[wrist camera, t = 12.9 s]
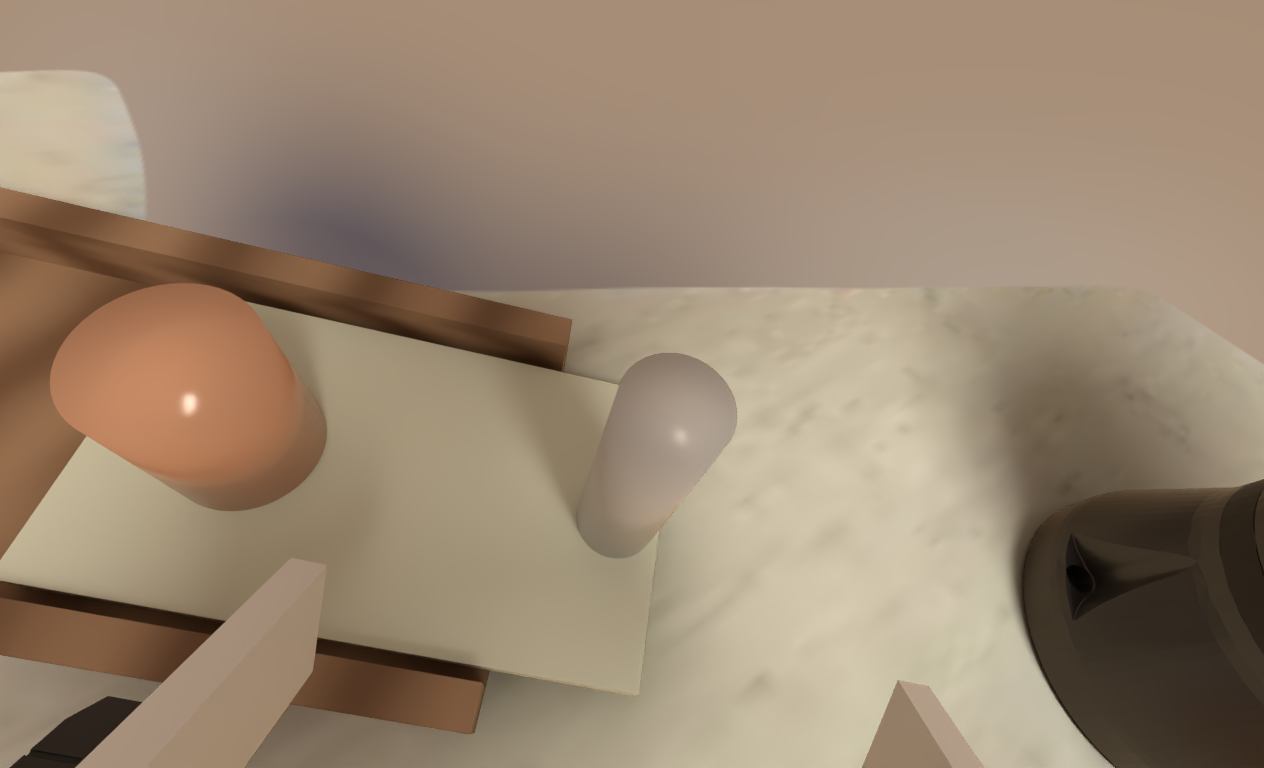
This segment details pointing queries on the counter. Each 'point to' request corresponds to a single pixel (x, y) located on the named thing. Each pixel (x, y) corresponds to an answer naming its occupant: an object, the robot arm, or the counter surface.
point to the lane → (44, 442)
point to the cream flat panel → (420, 508)
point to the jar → (191, 395)
